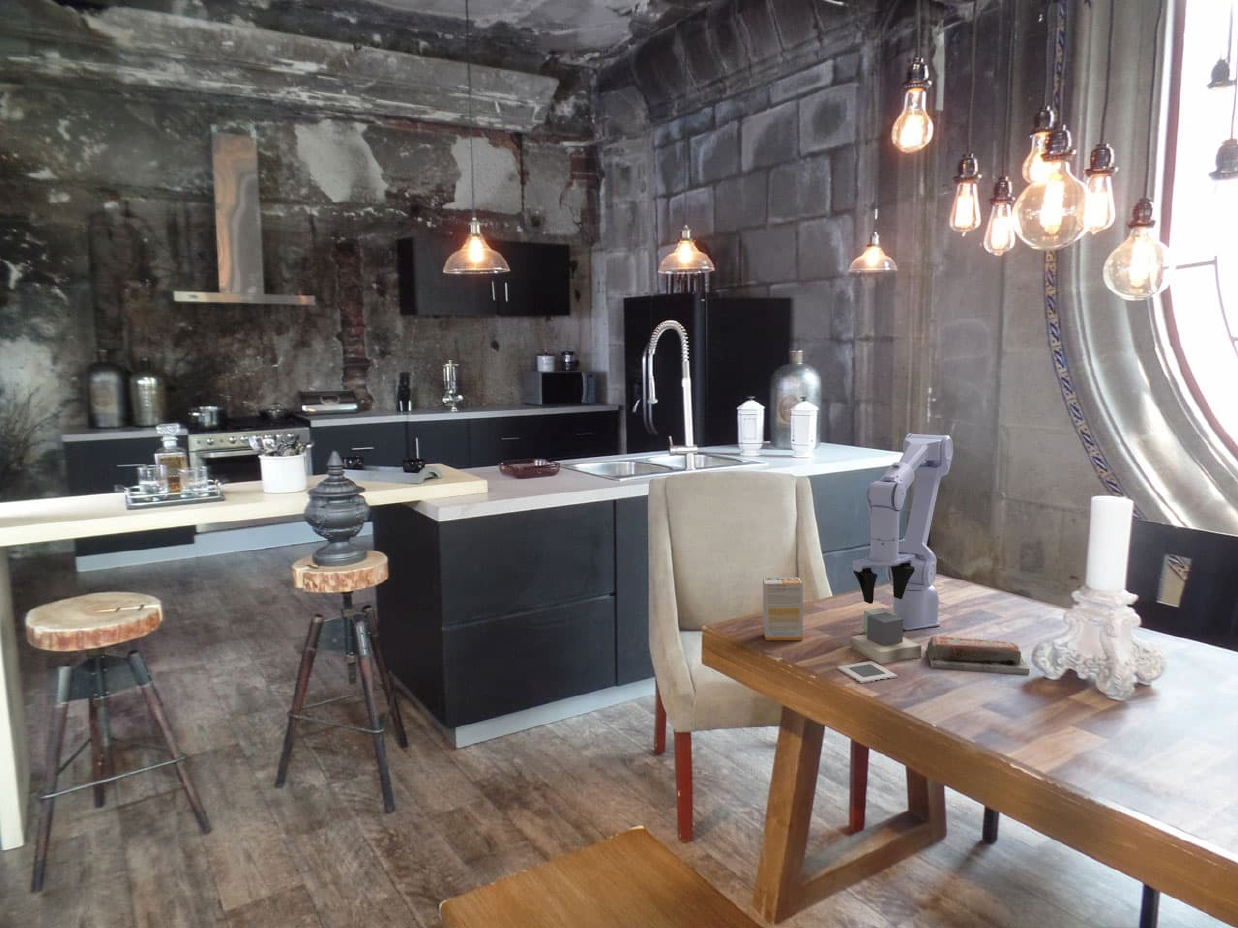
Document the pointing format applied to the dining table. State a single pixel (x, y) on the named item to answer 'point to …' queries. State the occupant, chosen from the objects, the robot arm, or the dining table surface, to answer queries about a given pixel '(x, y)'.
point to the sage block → (872, 612)
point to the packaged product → (975, 655)
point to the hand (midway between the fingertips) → (883, 600)
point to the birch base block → (885, 649)
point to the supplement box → (783, 608)
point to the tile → (866, 671)
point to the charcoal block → (885, 629)
